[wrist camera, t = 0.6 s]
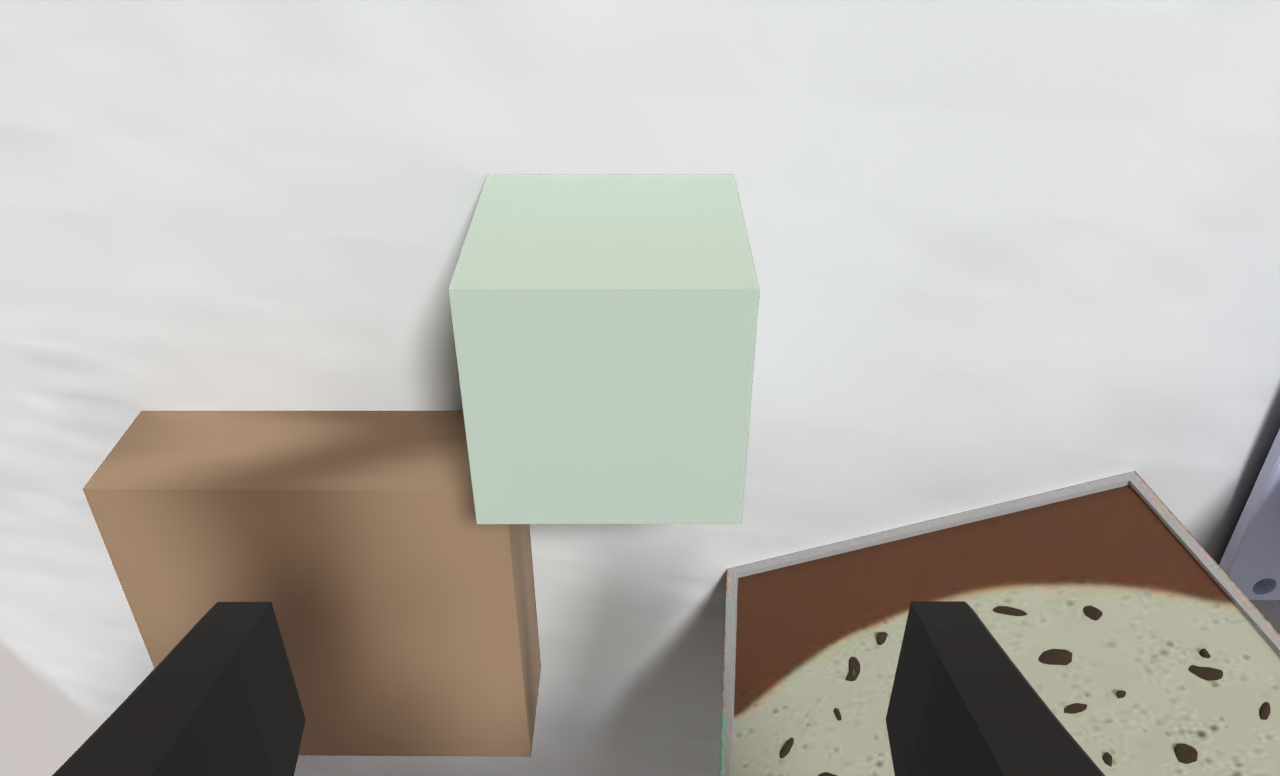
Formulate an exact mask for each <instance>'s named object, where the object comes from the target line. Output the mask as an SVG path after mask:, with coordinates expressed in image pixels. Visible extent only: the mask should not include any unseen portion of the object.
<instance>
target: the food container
mask: <svg viewBox="0 0 1280 776" xmlns="http://www.w3.org/2000/svg"><path fill="white" fill-rule="evenodd" d="M911 601H965V602H966V603H967V604H968V605H969V606H970V607H971V608H972V609H973V610H974V611H975V613H976V614H977V615H978V617H979V618H980V619H981V621H982V622H983V623H984V625H985V626H986V627H987V629H988V630H989V631H990V633H991V634H992V635H993V637H994V638H995V639H996V641H997V642H998V643H999V645H1000V646H1001V647H1002V649H1003V650H1004V651H1005V653H1006V654H1007V655H1008V656H1009V658H1010V659H1011V660H1012V662H1013V663H1014V664H1015V666H1016V667H1017V668H1018V669H1019V671H1020V672H1021V673H1022V675H1023V676H1024V677H1025V678H1026V680H1027V681H1028V682H1029V684H1030V685H1031V686H1032V687H1033V689H1034V690H1035V691H1036V692H1037V694H1038V695H1039V696H1040V698H1041V699H1042V700H1043V701H1044V703H1045V704H1046V705H1047V706H1048V708H1049V709H1050V710H1051V711H1052V713H1053V714H1054V715H1055V716H1056V718H1057V719H1058V720H1059V721H1060V722H1061V724H1062V725H1063V726H1064V727H1065V729H1066V730H1067V731H1068V732H1069V733H1070V735H1071V736H1072V737H1073V738H1074V739H1075V740H1076V742H1077V743H1078V744H1079V745H1080V746H1081V748H1082V749H1083V750H1084V751H1085V752H1086V753H1087V755H1088V756H1089V757H1090V758H1091V759H1092V761H1093V762H1094V763H1095V764H1096V765H1097V766H1098V768H1099V769H1100V770H1101V771H1102V772H1103V774H1104V775H1105V776H1280V634H1279V633H1278V632H1277V630H1276V629H1275V628H1274V627H1273V626H1272V625H1271V624H1270V623H1269V621H1268V620H1267V619H1266V618H1265V617H1264V616H1263V615H1262V614H1261V612H1260V611H1259V610H1258V609H1257V608H1256V607H1255V606H1254V605H1253V603H1252V602H1251V601H1250V600H1249V599H1248V598H1247V597H1246V596H1245V594H1244V593H1243V592H1242V591H1241V590H1240V589H1239V588H1238V587H1237V585H1236V584H1235V583H1234V582H1233V581H1232V580H1231V579H1230V577H1229V576H1228V575H1227V574H1226V573H1225V572H1224V571H1223V570H1222V568H1221V567H1220V566H1219V565H1218V564H1217V563H1216V562H1215V561H1214V559H1213V558H1212V557H1211V556H1210V555H1209V554H1208V553H1207V552H1206V550H1205V549H1204V548H1203V547H1202V546H1201V545H1200V544H1199V543H1198V541H1197V540H1196V539H1195V538H1194V537H1193V536H1192V535H1191V534H1190V532H1189V531H1188V530H1187V529H1186V528H1185V527H1184V526H1183V525H1182V523H1181V522H1180V521H1179V520H1178V519H1177V518H1176V517H1175V515H1174V514H1173V513H1172V512H1171V511H1170V510H1169V509H1168V508H1167V506H1166V505H1165V504H1164V503H1163V502H1162V501H1161V500H1160V499H1159V497H1158V496H1157V495H1156V494H1155V493H1154V492H1153V491H1152V490H1151V488H1150V487H1149V486H1148V485H1147V484H1146V483H1145V482H1144V481H1143V479H1142V478H1141V477H1140V476H1139V475H1138V474H1137V473H1136V472H1135V471H1133V472H1129V473H1125V474H1121V475H1117V476H1113V477H1109V478H1104V479H1100V480H1096V481H1092V482H1088V483H1084V484H1079V485H1075V486H1071V487H1067V488H1063V489H1059V490H1054V491H1050V492H1046V493H1042V494H1038V495H1034V496H1029V497H1025V498H1021V499H1017V500H1013V501H1009V502H1004V503H1000V504H996V505H992V506H988V507H984V508H979V509H975V510H971V511H967V512H963V513H959V514H954V515H950V516H946V517H942V518H938V519H934V520H929V521H925V522H921V523H917V524H913V525H909V526H904V527H900V528H896V529H892V530H888V531H884V532H879V533H875V534H871V535H867V536H863V537H859V538H854V539H850V540H846V541H842V542H838V543H834V544H829V545H825V546H821V547H817V548H813V549H809V550H805V551H800V552H796V553H792V554H788V555H784V556H780V557H775V558H771V559H767V560H763V561H759V562H755V563H750V564H746V565H742V566H738V567H734V568H730V569H727V583H726V612H725V640H724V668H723V697H722V725H721V753H720V776H895V774H894V768H893V762H892V756H891V750H890V743H889V737H888V731H887V725H886V715H887V711H888V706H889V701H890V697H891V692H892V687H893V683H894V678H895V673H896V669H897V664H898V659H899V655H900V650H901V645H902V641H903V636H904V631H905V627H906V622H907V617H908V613H909V608H910V603H911Z"/></svg>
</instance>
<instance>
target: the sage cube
mask: <svg viewBox="0 0 1280 776" xmlns="http://www.w3.org/2000/svg"><path fill="white" fill-rule="evenodd" d="M448 290H449V298H450V307H451V315H452V323H453V331H454V340H455V348H456V356H457V364H458V373H459V381H460V389H461V397H462V406H463V414H464V422H465V430H466V439H467V447H468V455H469V463H470V472H471V480H472V488H473V496H474V505H475V513H476V521H477V524H742V512H743V499H744V486H745V473H746V460H747V447H748V435H749V422H750V409H751V396H752V383H753V370H754V357H755V344H756V331H757V318H758V305H759V293H760V288H759V283H758V279H757V274H756V270H755V265H754V261H753V256H752V252H751V247H750V242H749V238H748V233H747V229H746V224H745V220H744V215H743V211H742V206H741V202H740V197H739V192H738V188H737V183H736V179H735V174H487V176H486V179H485V182H484V185H483V188H482V191H481V194H480V197H479V200H478V203H477V206H476V209H475V212H474V215H473V218H472V221H471V224H470V227H469V230H468V233H467V236H466V239H465V242H464V245H463V248H462V250H461V253H460V256H459V259H458V262H457V265H456V268H455V271H454V274H453V277H452V280H451V283H450V286H449V289H448Z"/></svg>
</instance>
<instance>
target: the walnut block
mask: <svg viewBox="0 0 1280 776" xmlns="http://www.w3.org/2000/svg"><path fill="white" fill-rule="evenodd" d="M83 491H84V493H85V496H86V498H87V501H88V503H89V506H90V508H91V511H92V513H93V516H94V518H95V521H96V523H97V526H98V528H99V531H100V533H101V536H102V538H103V541H104V543H105V546H106V548H107V551H108V553H109V556H110V558H111V561H112V563H113V566H114V568H115V571H116V573H117V576H118V578H119V581H120V583H121V585H122V588H123V590H124V593H125V595H126V598H127V600H128V603H129V605H130V608H131V610H132V613H133V615H134V618H135V620H136V623H137V625H138V628H139V630H140V633H141V635H142V638H143V640H144V643H145V645H146V648H147V650H148V653H149V655H150V658H151V660H152V663H153V665H154V668H156V667H157V666H158V664H159V663H160V662H161V661H162V660H163V659H164V658H165V657H166V656H167V655H168V654H169V653H170V651H171V650H172V649H173V648H174V647H175V646H176V645H177V644H178V643H179V642H180V641H181V640H182V638H183V637H184V636H185V635H186V634H187V633H188V632H189V631H190V630H191V629H192V628H193V627H194V625H195V624H196V623H197V622H198V621H199V620H200V619H201V618H202V617H203V616H204V615H205V614H206V613H207V612H208V611H209V610H210V609H211V608H212V607H213V606H214V605H215V604H216V603H217V602H272V605H273V609H274V612H275V616H276V619H277V623H278V626H279V629H280V633H281V636H282V640H283V643H284V647H285V650H286V654H287V657H288V660H289V664H290V667H291V671H292V674H293V678H294V681H295V685H296V688H297V691H298V695H299V698H300V702H301V705H302V709H303V712H304V716H305V719H306V721H305V726H304V730H303V735H302V740H301V744H300V749H299V753H298V755H355V756H531V749H532V740H533V731H534V723H535V714H536V705H537V696H538V687H539V679H540V670H541V663H540V650H539V638H538V626H537V614H536V601H535V589H534V577H533V564H532V552H531V540H530V527H529V524H477V521H476V513H475V505H474V496H473V488H472V480H471V472H470V463H469V455H468V447H467V439H466V430H465V422H464V414H463V411H141V412H140V414H139V415H138V416H137V418H136V419H135V420H134V422H133V423H132V424H131V426H130V427H129V428H128V430H127V431H126V432H125V434H124V435H123V436H122V438H121V439H120V440H119V442H118V443H117V444H116V446H115V447H114V448H113V450H112V451H111V452H110V454H109V455H108V456H107V458H106V459H105V460H104V462H103V463H102V464H101V466H100V467H99V468H98V470H97V471H96V472H95V474H94V475H93V476H92V478H91V479H90V480H89V482H88V483H87V484H86V485H85V487H84V488H83Z"/></svg>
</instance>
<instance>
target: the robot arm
mask: <svg viewBox="0 0 1280 776" xmlns="http://www.w3.org/2000/svg"><path fill="white" fill-rule="evenodd" d="M1219 566H1220V567H1221V568H1222V570H1223V571H1224V572H1225V573H1226V574H1227V575H1228V576H1229V577H1230V579H1231V580H1232V581H1233V582H1234V583H1235V584H1236V585H1237V587H1238V588H1239V589H1240V590H1241V591H1242V592H1243V593H1244V594H1245V596H1246V597H1247V598H1248V599H1249V600H1280V429H1279V431H1278V433H1277V435H1276V438H1275V440H1274V442H1273V444H1272V447H1271V449H1270V451H1269V453H1268V456H1267V458H1266V460H1265V462H1264V465H1263V467H1262V469H1261V471H1260V474H1259V476H1258V478H1257V480H1256V483H1255V485H1254V487H1253V489H1252V492H1251V494H1250V496H1249V498H1248V501H1247V503H1246V505H1245V507H1244V510H1243V512H1242V514H1241V516H1240V519H1239V521H1238V523H1237V525H1236V528H1235V530H1234V532H1233V534H1232V537H1231V539H1230V541H1229V543H1228V546H1227V548H1226V550H1225V552H1224V555H1223V557H1222V559H1221V561H1220V564H1219ZM305 721H306V719H305V716H304V712H303V709H302V705H301V702H300V698H299V695H298V691H297V688H296V685H295V681H294V678H293V674H292V671H291V667H290V664H289V660H288V657H287V654H286V650H285V647H284V643H283V640H282V636H281V633H280V629H279V626H278V623H277V619H276V616H275V612H274V609H273V605H272V602H217V603H216V604H215V605H214V606H213V607H212V608H211V609H210V610H209V611H208V612H207V613H206V614H205V615H204V616H203V617H202V618H201V619H200V620H199V621H198V622H197V623H196V624H195V625H194V627H193V628H192V629H191V630H190V631H189V632H188V633H187V634H186V635H185V636H184V637H183V638H182V640H181V641H180V642H179V643H178V644H177V645H176V646H175V647H174V648H173V649H172V650H171V651H170V653H169V654H168V655H167V656H166V657H165V658H164V659H163V660H162V661H161V662H160V663H159V664H158V666H157V667H156V668H155V669H154V670H153V671H152V672H151V673H150V674H149V675H148V676H147V677H146V679H145V680H144V681H143V682H142V683H141V684H140V685H139V686H138V687H137V688H136V689H135V690H134V691H133V692H132V693H131V695H130V696H129V697H128V698H127V699H126V700H125V701H124V702H123V703H122V704H121V705H120V706H119V707H118V708H117V709H116V711H115V712H114V713H113V714H112V715H111V716H110V717H109V718H108V719H107V720H106V721H105V722H104V723H103V724H102V725H101V726H100V727H99V728H98V729H97V730H96V731H95V732H94V733H93V734H92V735H91V736H90V737H89V738H88V739H87V741H86V742H85V743H84V744H83V745H82V746H81V747H80V748H79V749H78V750H77V751H76V752H75V753H74V754H73V755H72V756H71V757H70V758H69V759H68V760H67V761H66V762H65V763H64V764H63V765H62V766H61V767H60V768H59V769H58V770H57V771H56V772H55V773H54V774H53V775H52V776H293V775H294V771H295V767H296V763H297V758H298V753H299V749H300V744H301V740H302V735H303V730H304V726H305ZM886 725H887V731H888V737H889V743H890V750H891V756H892V762H893V768H894V774H895V776H1105V775H1104V774H1103V772H1102V771H1101V770H1100V769H1099V768H1098V766H1097V765H1096V764H1095V763H1094V762H1093V761H1092V759H1091V758H1090V757H1089V756H1088V755H1087V753H1086V752H1085V751H1084V750H1083V749H1082V748H1081V746H1080V745H1079V744H1078V743H1077V742H1076V740H1075V739H1074V738H1073V737H1072V736H1071V735H1070V733H1069V732H1068V731H1067V730H1066V729H1065V727H1064V726H1063V725H1062V724H1061V722H1060V721H1059V720H1058V719H1057V718H1056V716H1055V715H1054V714H1053V713H1052V711H1051V710H1050V709H1049V708H1048V706H1047V705H1046V704H1045V703H1044V701H1043V700H1042V699H1041V698H1040V696H1039V695H1038V694H1037V692H1036V691H1035V690H1034V689H1033V687H1032V686H1031V685H1030V684H1029V682H1028V681H1027V680H1026V678H1025V677H1024V676H1023V675H1022V673H1021V672H1020V671H1019V669H1018V668H1017V667H1016V666H1015V664H1014V663H1013V662H1012V660H1011V659H1010V658H1009V656H1008V655H1007V654H1006V653H1005V651H1004V650H1003V649H1002V647H1001V646H1000V645H999V643H998V642H997V641H996V639H995V638H994V637H993V635H992V634H991V633H990V631H989V630H988V629H987V627H986V626H985V625H984V623H983V622H982V621H981V619H980V618H979V617H978V615H977V614H976V613H975V611H974V610H973V609H972V608H971V607H970V606H969V605H968V604H967V603H966V602H965V601H911V603H910V608H909V613H908V617H907V622H906V627H905V631H904V636H903V641H902V645H901V650H900V655H899V659H898V664H897V669H896V673H895V678H894V683H893V687H892V692H891V697H890V701H889V706H888V711H887V715H886Z"/></svg>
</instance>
